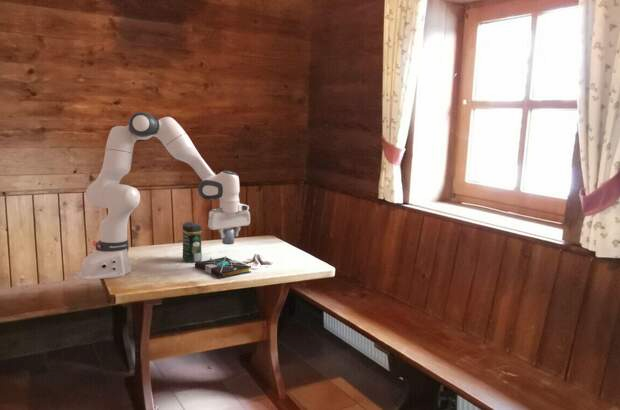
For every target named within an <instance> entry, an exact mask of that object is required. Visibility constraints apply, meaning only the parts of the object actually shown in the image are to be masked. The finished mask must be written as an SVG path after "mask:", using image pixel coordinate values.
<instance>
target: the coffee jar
mask: <svg viewBox="0 0 620 410" xmlns="http://www.w3.org/2000/svg"><path fill="white" fill-rule="evenodd" d="M202 231H203V228H202V225H201V224H198V223H197V222H193V221H187V222H186V221H185V222H184V223H183V224H182V260H184V261H185V262H188V263H195V261H203V260H202V257H203V256H202V233H203V232H202Z"/></svg>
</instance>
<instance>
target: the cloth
mask: <svg viewBox="0 0 620 410" xmlns="http://www.w3.org/2000/svg"><path fill="white" fill-rule="evenodd" d="M239 262H241V263H242V264H245V265H248V266H251V268H249V270H256V269H257V271H260V270H259V269H262V266H261V265H270V266H265V268H272V267H271V266H273V265H272V264H274V263H276V262H277V261H275V260H272V259H268V257H265V256H264V257H263V255H262V254H261V252H255V253H254V255H253V257H252V258H250V257H249V258H248V257H245V258H242V259H241V260H240V261H239ZM276 264H277V263H276ZM274 265H275V264H274Z"/></svg>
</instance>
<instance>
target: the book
mask: <svg viewBox="0 0 620 410" xmlns="http://www.w3.org/2000/svg"><path fill="white" fill-rule="evenodd" d="M194 268H195V269H199V270H200V271H201V270H202V271H205V273H206V274H209V275H213V276H215V277H217V278H219V279H220V280H221V279H225V278H229V277H233V276H238V275H243V274H250V273H251V272H252V270H250V269H249V268H251V266H248V265H247V264H245V263H241V262H240V261H239V260H236V259H232V258H229V257H227V256H226V255H225V256H222V257H219V258H215V259H213V258H212V257H210V258H209V259H207V260H201V261H195V262H194Z"/></svg>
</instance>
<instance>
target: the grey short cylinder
mask: <svg viewBox="0 0 620 410" xmlns="http://www.w3.org/2000/svg"><path fill="white" fill-rule="evenodd" d="M222 232H223V234H225V238H221V244H223V245H228V246H229V245H230V246H231V245H234V244H235V236H234V232H235V227H232V228H224V229H223V231H222Z"/></svg>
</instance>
